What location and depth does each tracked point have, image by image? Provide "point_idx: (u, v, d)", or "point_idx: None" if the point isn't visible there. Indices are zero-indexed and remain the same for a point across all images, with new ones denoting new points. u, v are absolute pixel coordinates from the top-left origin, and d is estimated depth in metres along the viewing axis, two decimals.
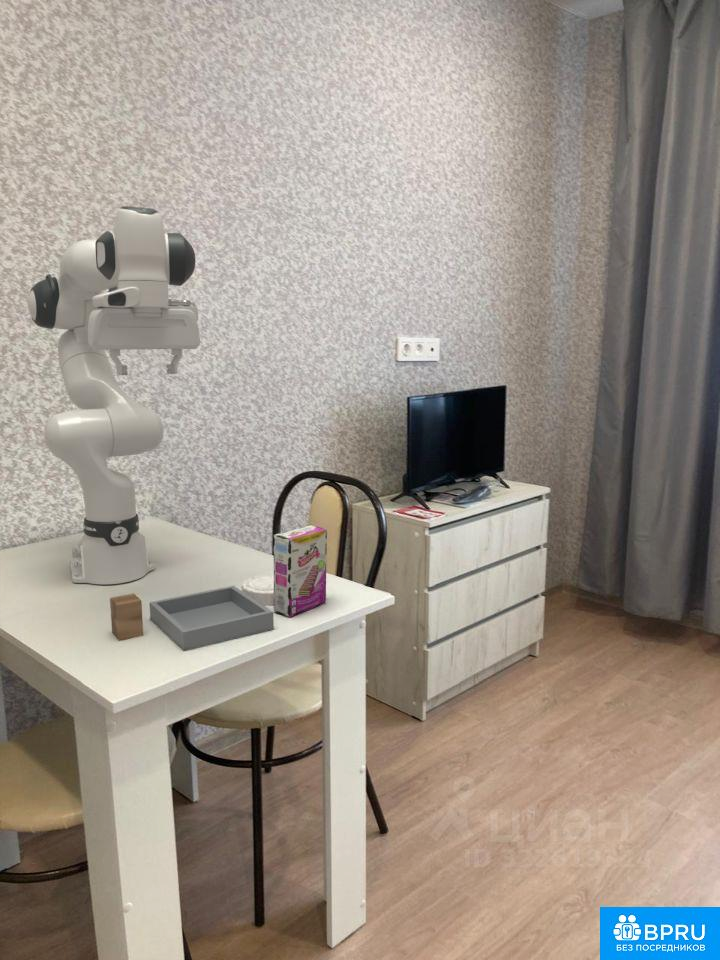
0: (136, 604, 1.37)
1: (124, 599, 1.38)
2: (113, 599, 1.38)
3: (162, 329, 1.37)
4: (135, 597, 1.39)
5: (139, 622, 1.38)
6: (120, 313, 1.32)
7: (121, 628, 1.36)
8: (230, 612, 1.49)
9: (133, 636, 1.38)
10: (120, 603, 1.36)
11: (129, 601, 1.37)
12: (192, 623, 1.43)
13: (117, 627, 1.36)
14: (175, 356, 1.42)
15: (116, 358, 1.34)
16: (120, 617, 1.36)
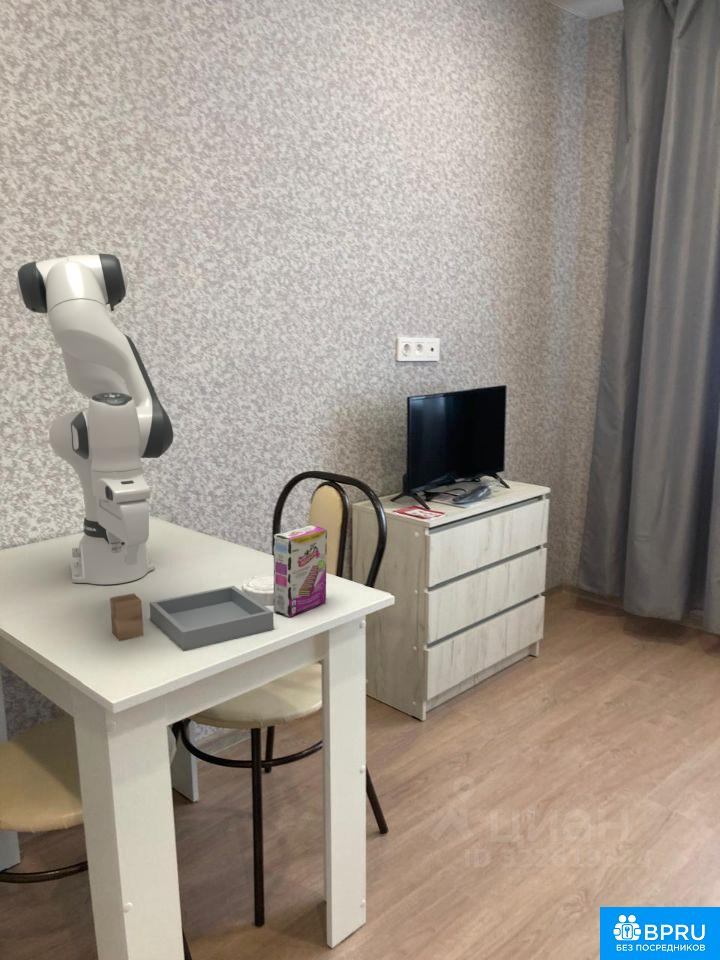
0: (136, 604, 1.37)
1: (124, 599, 1.38)
2: (113, 599, 1.38)
3: None
4: (135, 597, 1.39)
5: (139, 622, 1.38)
6: None
7: (121, 628, 1.36)
8: (230, 612, 1.49)
9: (133, 636, 1.38)
10: (120, 603, 1.36)
11: (129, 601, 1.37)
12: (192, 623, 1.43)
13: (117, 627, 1.36)
14: (112, 534, 1.40)
15: (137, 547, 1.31)
16: (120, 617, 1.36)
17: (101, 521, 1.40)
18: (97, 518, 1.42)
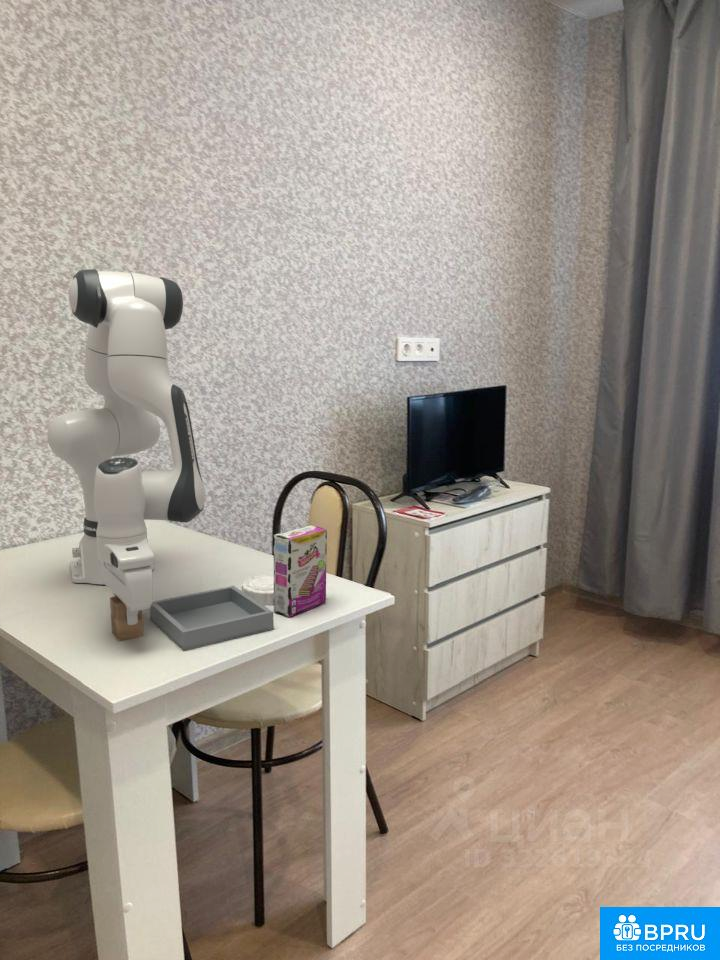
0: None
1: None
2: (113, 599, 1.38)
3: None
4: None
5: (139, 622, 1.38)
6: None
7: (121, 628, 1.36)
8: (230, 612, 1.49)
9: (133, 636, 1.38)
10: (120, 603, 1.36)
11: None
12: (192, 623, 1.43)
13: (117, 627, 1.36)
14: None
15: None
16: (120, 617, 1.36)
17: (105, 580, 1.42)
18: (101, 576, 1.44)
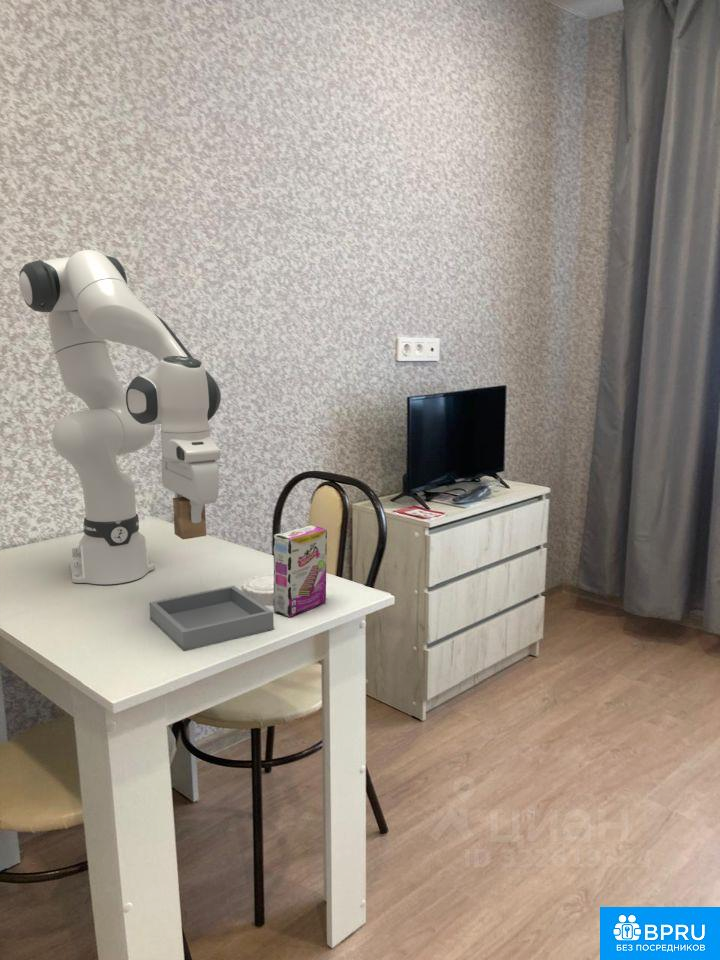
0: None
1: (187, 499, 1.38)
2: (176, 499, 1.38)
3: None
4: None
5: (202, 522, 1.38)
6: None
7: (185, 526, 1.37)
8: (230, 612, 1.49)
9: (196, 535, 1.38)
10: (184, 501, 1.36)
11: None
12: (192, 623, 1.43)
13: (181, 525, 1.37)
14: None
15: None
16: (184, 515, 1.36)
17: (167, 483, 1.42)
18: (162, 481, 1.45)
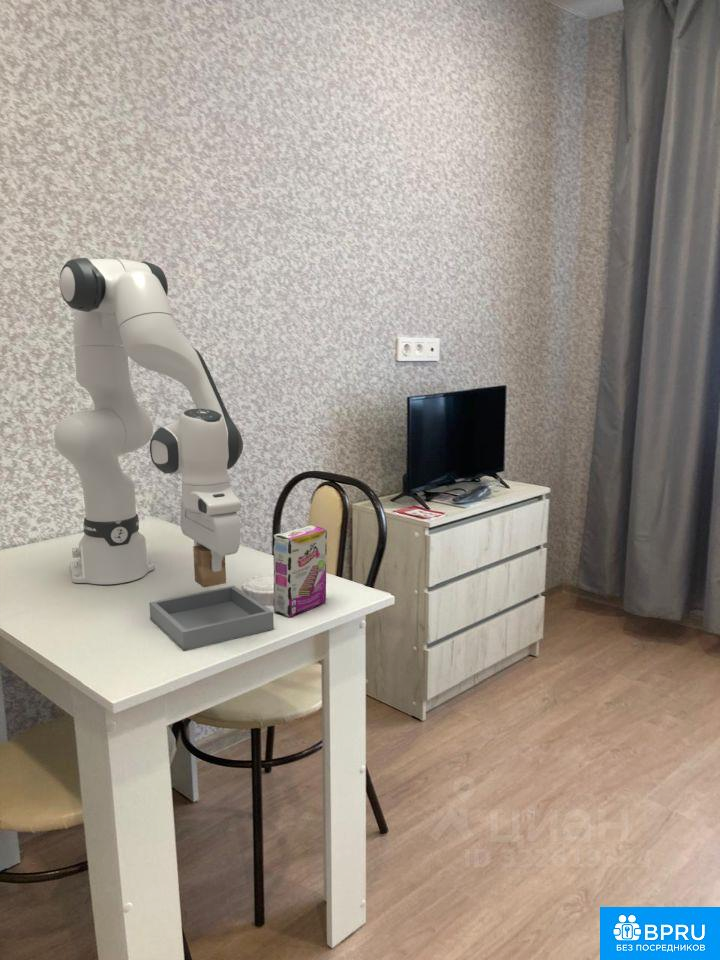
0: None
1: None
2: (197, 547, 1.41)
3: None
4: None
5: (222, 570, 1.41)
6: None
7: (206, 575, 1.40)
8: (230, 612, 1.49)
9: (217, 583, 1.41)
10: (204, 550, 1.39)
11: None
12: (192, 623, 1.43)
13: (202, 574, 1.40)
14: None
15: (222, 555, 1.39)
16: (205, 564, 1.39)
17: (186, 531, 1.45)
18: (181, 528, 1.47)
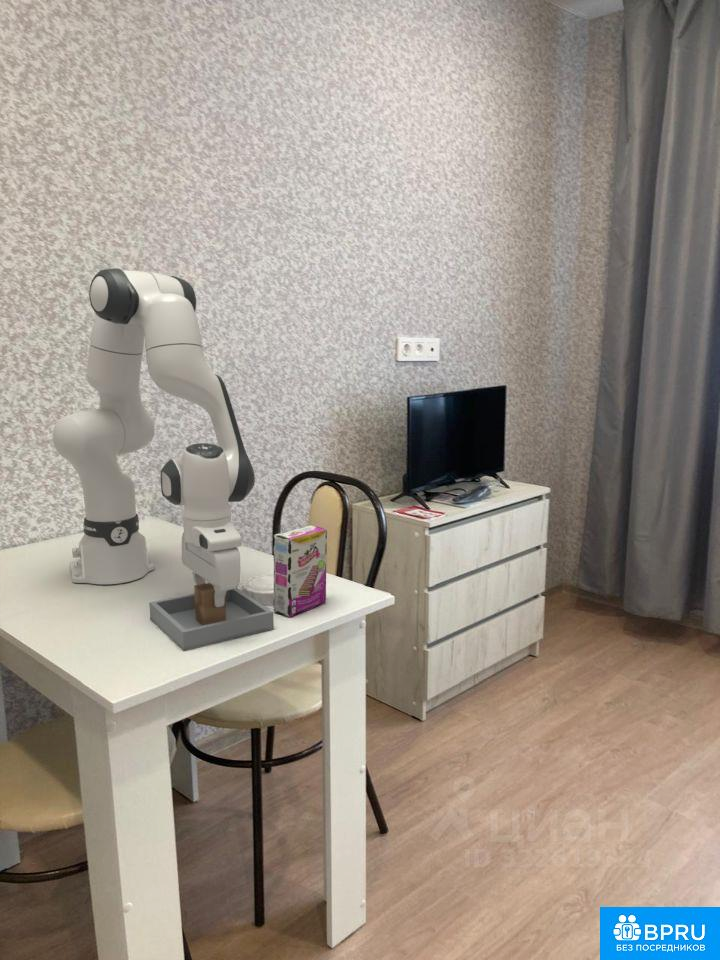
0: None
1: (208, 587, 1.43)
2: (198, 587, 1.43)
3: None
4: None
5: (222, 609, 1.43)
6: None
7: (206, 614, 1.41)
8: (230, 612, 1.49)
9: None
10: (205, 591, 1.41)
11: None
12: (192, 623, 1.43)
13: (202, 614, 1.41)
14: (198, 576, 1.47)
15: (225, 591, 1.39)
16: (205, 604, 1.41)
17: (187, 563, 1.47)
18: (182, 559, 1.49)
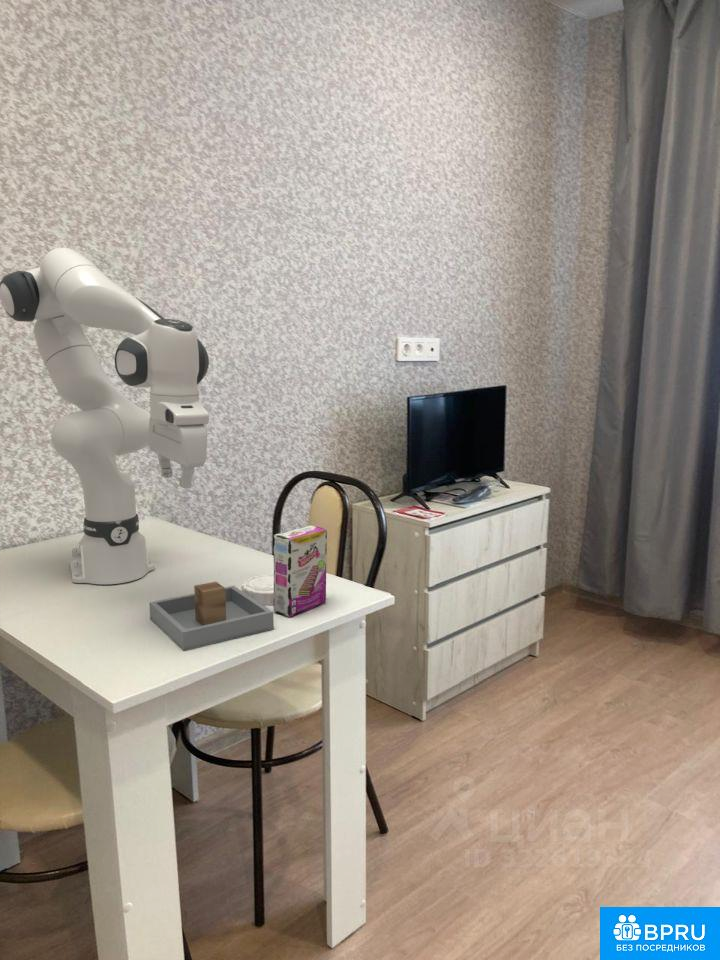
0: (220, 591, 1.42)
1: (208, 587, 1.43)
2: (198, 587, 1.43)
3: None
4: (218, 585, 1.44)
5: (222, 609, 1.43)
6: None
7: (206, 614, 1.41)
8: (230, 612, 1.49)
9: None
10: (205, 591, 1.41)
11: (214, 588, 1.42)
12: (192, 623, 1.43)
13: (202, 614, 1.41)
14: (164, 460, 1.44)
15: None
16: (205, 604, 1.41)
17: (154, 446, 1.43)
18: (149, 444, 1.45)
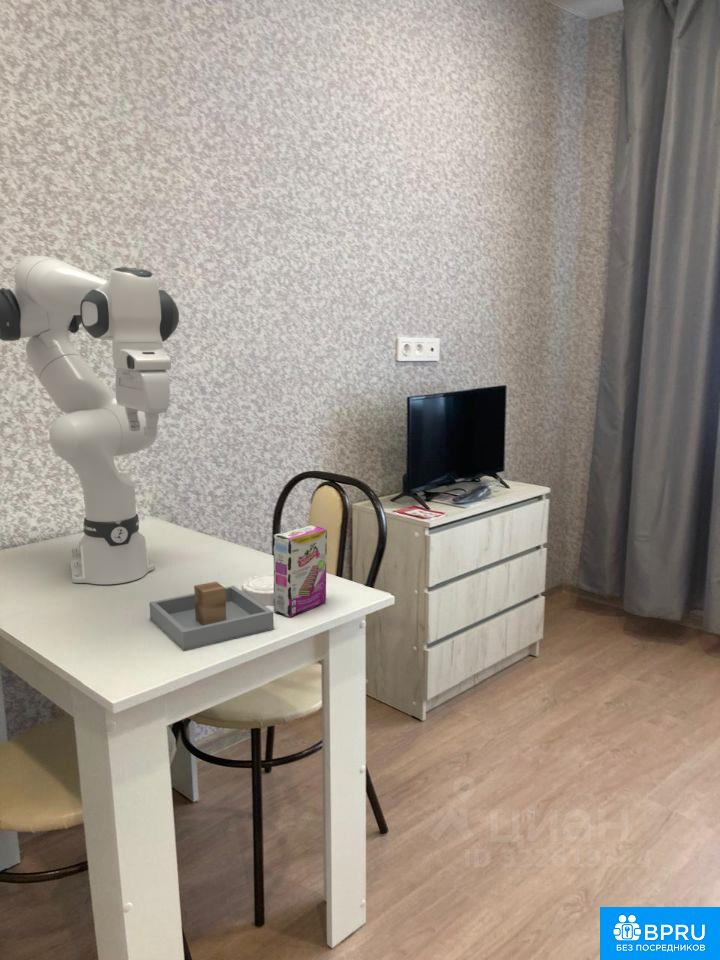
0: (220, 591, 1.42)
1: (208, 587, 1.43)
2: (198, 587, 1.43)
3: None
4: (218, 585, 1.44)
5: (222, 609, 1.43)
6: None
7: (206, 614, 1.41)
8: (230, 612, 1.49)
9: None
10: (205, 591, 1.41)
11: (214, 588, 1.42)
12: (192, 623, 1.43)
13: (202, 614, 1.41)
14: (131, 413, 1.43)
15: (157, 419, 1.34)
16: (205, 604, 1.41)
17: (120, 400, 1.42)
18: (116, 398, 1.44)
